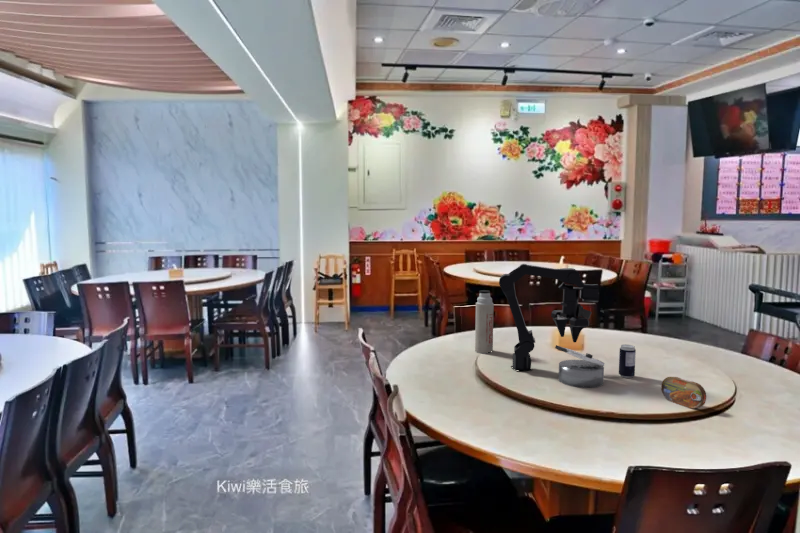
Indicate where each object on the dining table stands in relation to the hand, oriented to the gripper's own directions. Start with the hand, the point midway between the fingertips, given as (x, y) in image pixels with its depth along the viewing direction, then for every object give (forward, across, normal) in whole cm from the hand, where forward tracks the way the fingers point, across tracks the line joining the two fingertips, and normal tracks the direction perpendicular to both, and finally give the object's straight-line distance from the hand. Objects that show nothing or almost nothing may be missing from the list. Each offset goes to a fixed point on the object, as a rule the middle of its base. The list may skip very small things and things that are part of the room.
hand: (568, 339), depth 214 cm
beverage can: (+13, -11, -19) cm, 26 cm away
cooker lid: (+4, -12, +3) cm, 13 cm away
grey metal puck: (+13, -12, +1) cm, 18 cm away
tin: (+13, -42, -18) cm, 47 cm away
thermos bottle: (+14, +38, +20) cm, 45 cm away
